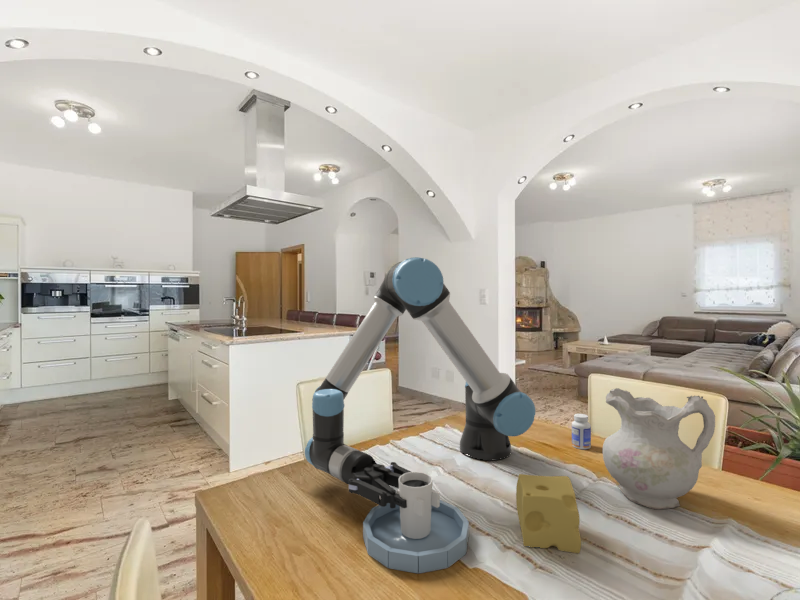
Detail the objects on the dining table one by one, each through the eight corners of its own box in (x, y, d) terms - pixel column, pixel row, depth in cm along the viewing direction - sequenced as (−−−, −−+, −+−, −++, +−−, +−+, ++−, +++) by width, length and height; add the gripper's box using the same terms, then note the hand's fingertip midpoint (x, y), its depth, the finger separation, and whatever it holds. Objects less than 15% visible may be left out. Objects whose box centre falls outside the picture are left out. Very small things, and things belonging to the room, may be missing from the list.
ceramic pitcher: (692, 489, 101) (689, 387, 102) (733, 527, 82) (728, 401, 83) (596, 479, 106) (594, 383, 108) (614, 513, 88) (611, 395, 89)
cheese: (581, 555, 74) (581, 500, 74) (520, 547, 77) (520, 495, 76) (569, 523, 85) (569, 475, 84) (515, 517, 87) (515, 471, 87)
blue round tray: (445, 504, 92) (445, 491, 92) (486, 560, 73) (486, 543, 73) (357, 517, 87) (357, 503, 87) (376, 581, 68) (376, 563, 68)
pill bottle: (589, 444, 128) (589, 413, 128) (591, 450, 123) (591, 418, 123) (571, 442, 130) (571, 412, 129) (572, 448, 124) (572, 417, 124)
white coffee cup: (416, 516, 85) (416, 468, 84) (439, 530, 80) (439, 479, 79) (391, 529, 80) (391, 478, 80) (414, 544, 75) (414, 491, 75)
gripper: (380, 471, 100) (457, 507, 83) (322, 496, 88) (399, 543, 71) (380, 441, 99) (457, 470, 83) (322, 461, 88) (399, 500, 71)
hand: (430, 504), depth 77 cm, fingers closed on white coffee cup, 4 cm apart
